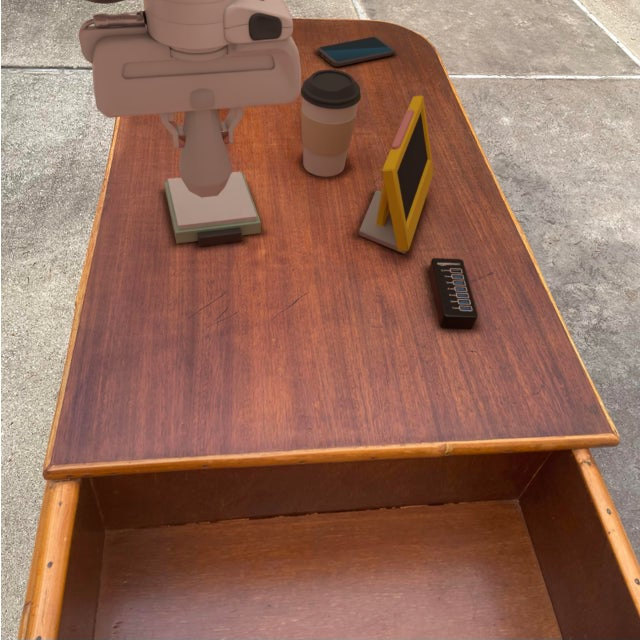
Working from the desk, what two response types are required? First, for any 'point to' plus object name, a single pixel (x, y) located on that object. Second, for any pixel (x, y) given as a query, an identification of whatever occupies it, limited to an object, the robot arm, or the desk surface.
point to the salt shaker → (204, 148)
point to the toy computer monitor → (402, 183)
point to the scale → (212, 212)
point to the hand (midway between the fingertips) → (203, 143)
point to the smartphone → (355, 51)
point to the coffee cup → (328, 120)
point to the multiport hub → (452, 294)
